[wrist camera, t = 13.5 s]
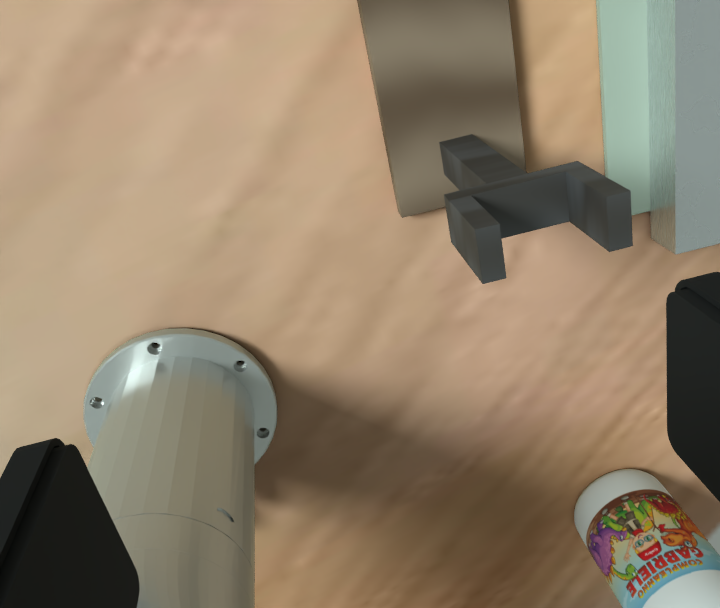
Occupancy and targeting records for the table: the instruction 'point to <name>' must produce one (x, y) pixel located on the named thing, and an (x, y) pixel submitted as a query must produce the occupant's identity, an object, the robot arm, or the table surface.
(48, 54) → the table surface
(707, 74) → the rail
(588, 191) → the hook stand
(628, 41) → the mat
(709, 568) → the milk bottle
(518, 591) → the table surface
